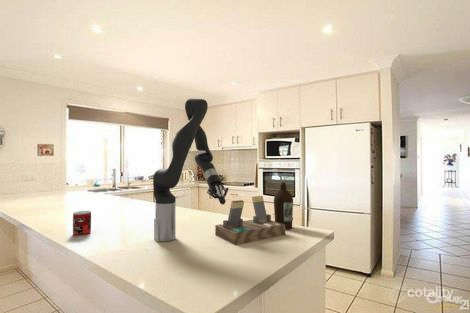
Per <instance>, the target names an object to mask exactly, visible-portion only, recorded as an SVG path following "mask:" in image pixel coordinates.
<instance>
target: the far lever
mask: <svg viewBox="0 0 470 313" xmlns="http://www.w3.org/2000/svg"><path fill="white" fill-rule="evenodd" d="M251 200H252V204H253V210H254V213H255V215H254V216H257V217H259V222H262V221H267V211H266V207H265V202H264V196H263V195H257V196H252V197H251Z"/></svg>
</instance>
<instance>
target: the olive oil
mask: <svg viewBox="0 0 470 313" xmlns="http://www.w3.org/2000/svg"><path fill="white" fill-rule="evenodd" d="M273 210H274V213H273V214H274V221H275V222H278V223H281V224H285V231H286V230H291V229H292V228H293V220H294V217H293V214H294V211H293V210H294V197H293V195H292V194H291V193H290V191H288V189H287V181H285V182H284V181H281V182H280V186H279V190H278V191H277V192H276V193H275V194H274V197H273Z"/></svg>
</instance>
